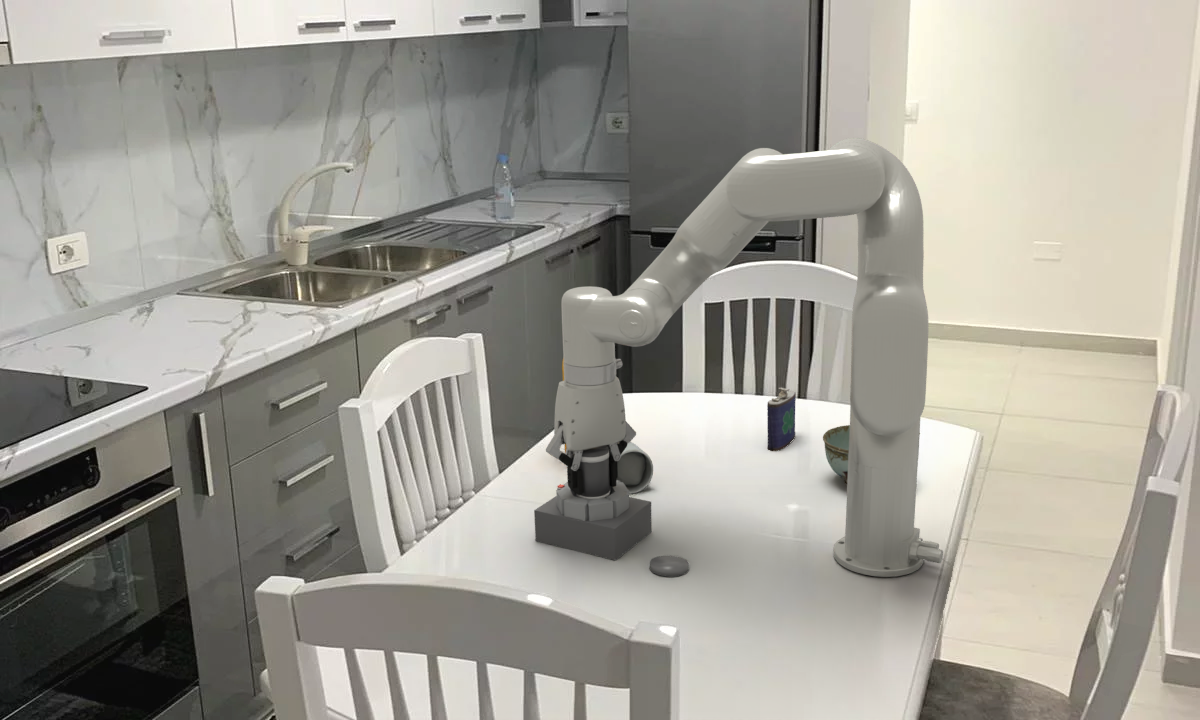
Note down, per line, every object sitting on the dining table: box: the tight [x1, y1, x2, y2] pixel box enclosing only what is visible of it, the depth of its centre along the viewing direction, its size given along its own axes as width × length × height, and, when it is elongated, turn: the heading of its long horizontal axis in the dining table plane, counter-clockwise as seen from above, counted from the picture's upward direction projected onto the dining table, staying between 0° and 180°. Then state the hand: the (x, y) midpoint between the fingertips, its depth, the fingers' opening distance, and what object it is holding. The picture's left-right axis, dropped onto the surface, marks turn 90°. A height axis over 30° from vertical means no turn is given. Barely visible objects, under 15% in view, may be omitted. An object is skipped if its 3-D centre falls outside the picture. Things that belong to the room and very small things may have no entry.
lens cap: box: [649, 554, 690, 578], centre depth 164 cm, size 6×6×1 cm
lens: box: [576, 445, 610, 500], centre depth 172 cm, size 5×5×8 cm
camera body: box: [533, 480, 653, 561], centre depth 174 cm, size 14×11×8 cm
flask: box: [766, 387, 797, 452], centre depth 209 cm, size 9×3×11 cm, turn 147°
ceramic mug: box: [616, 441, 654, 495], centre depth 193 cm, size 11×8×8 cm
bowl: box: [822, 424, 850, 486], centre depth 191 cm, size 14×13×8 cm
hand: (593, 486), depth 173 cm, fingers closed on lens, 5 cm apart
